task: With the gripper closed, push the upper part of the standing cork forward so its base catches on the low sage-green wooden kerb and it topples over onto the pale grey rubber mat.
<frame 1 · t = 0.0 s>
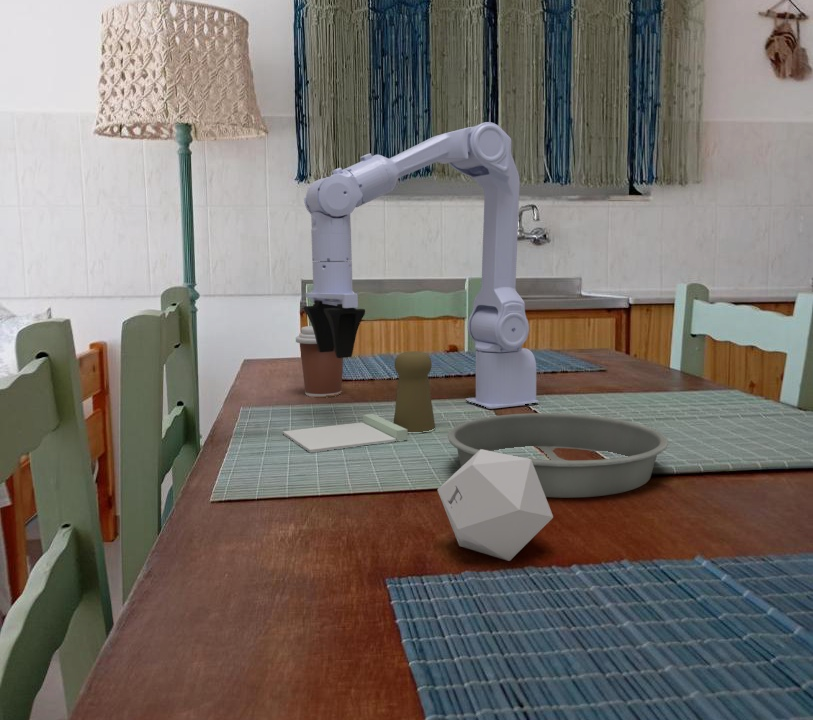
hand: (334, 354, 120), 10 cm above the table, fingers open, 7 cm apart
cake pan: (555, 473, 94), on the table
die: (494, 550, 70), on the table
mat: (338, 437, 111), on the table
coffee cup: (323, 395, 145), on the table
kerb: (384, 432, 114), on the table
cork: (414, 430, 116), on the table
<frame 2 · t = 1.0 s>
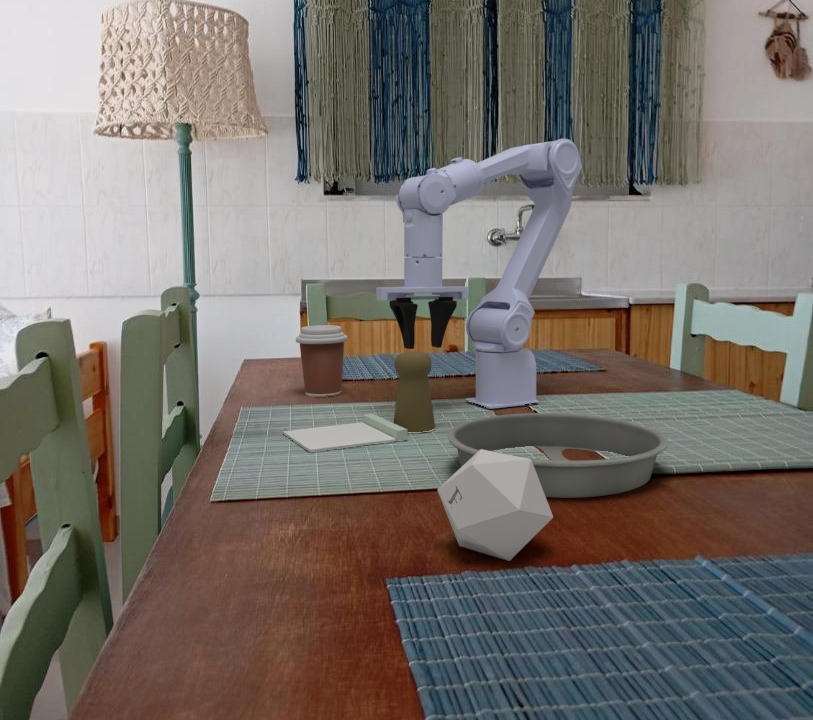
hand: (422, 347, 124), 10 cm above the table, fingers open, 4 cm apart
nothing on the table moved.
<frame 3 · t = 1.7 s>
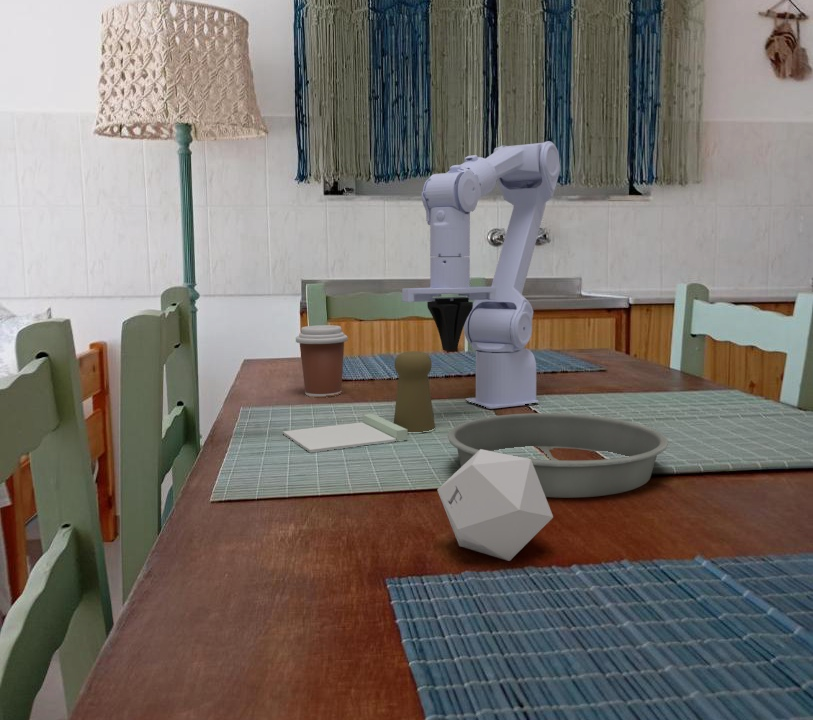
hand: (449, 350, 120), 10 cm above the table, fingers closed
nothing on the table moved.
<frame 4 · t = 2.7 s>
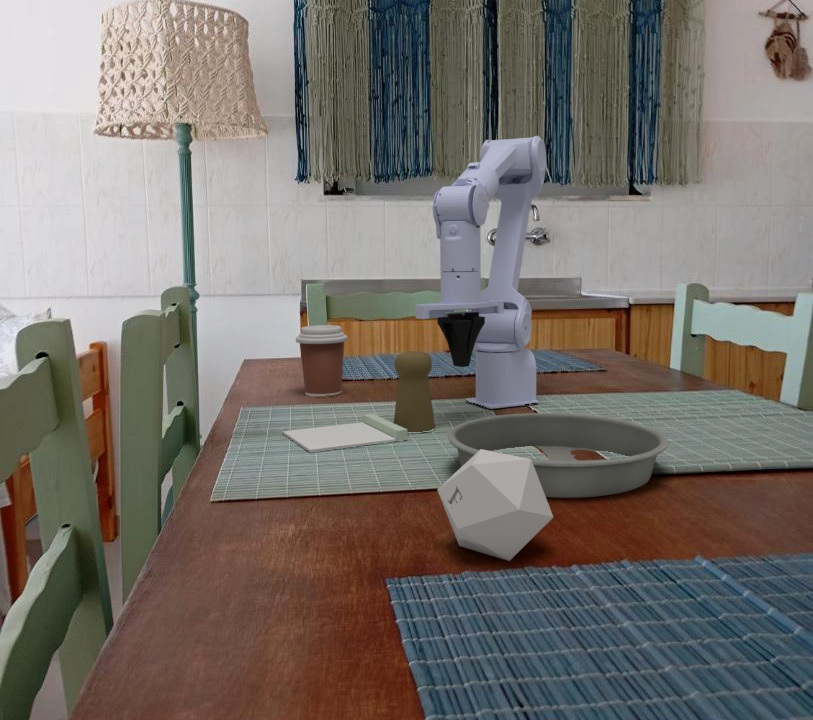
hand: (461, 366, 118), 8 cm above the table, fingers closed
nothing on the table moved.
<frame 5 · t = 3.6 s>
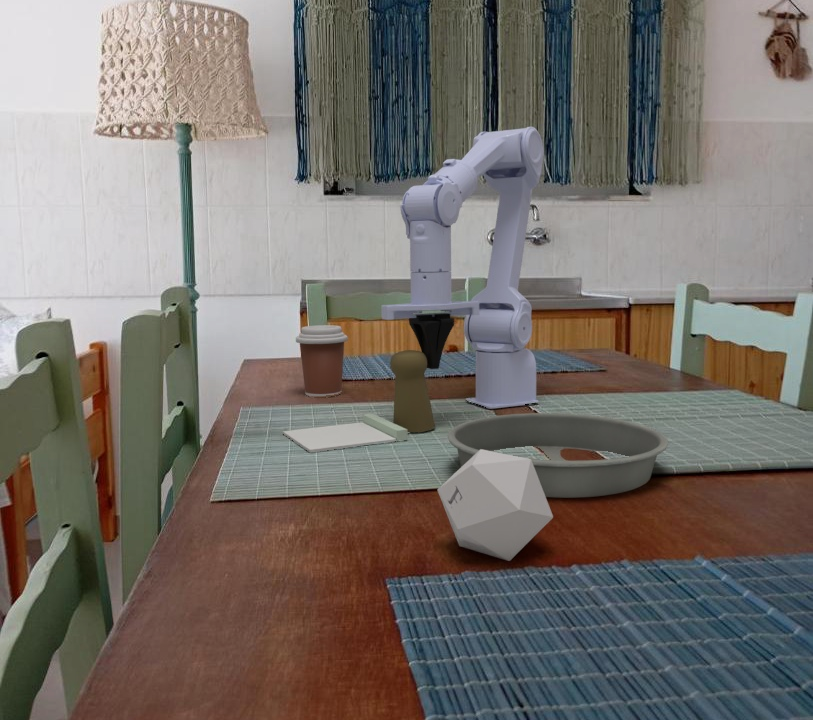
hand: (431, 368, 116), 8 cm above the table, fingers closed
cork: (414, 428, 116), on the table, touching gripper
everything else where it was.
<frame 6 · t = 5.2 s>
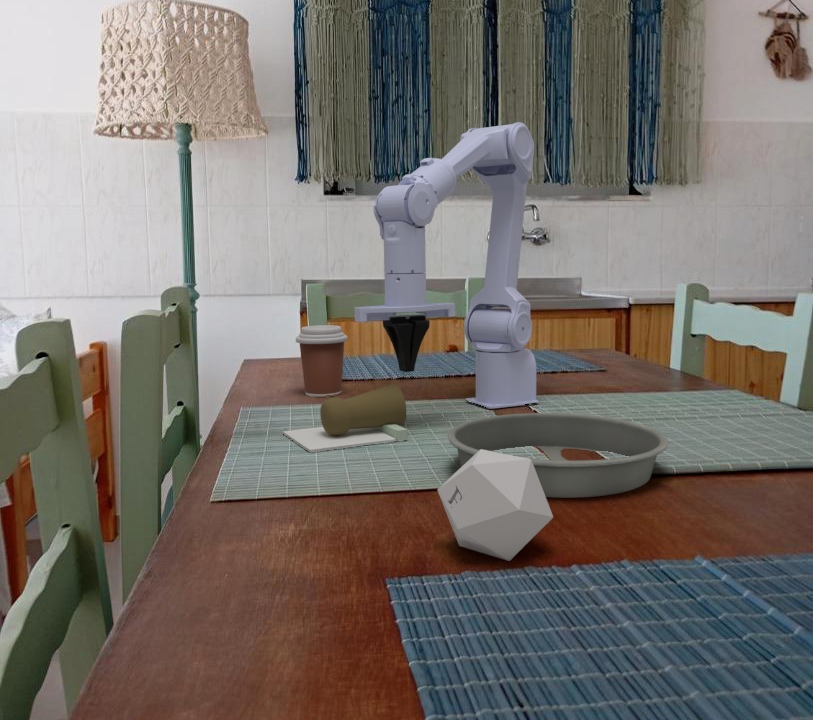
hand: (406, 370, 114), 8 cm above the table, fingers closed
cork: (398, 404, 114), point 4 cm above the table, touching kerb, mat
everything else where it was.
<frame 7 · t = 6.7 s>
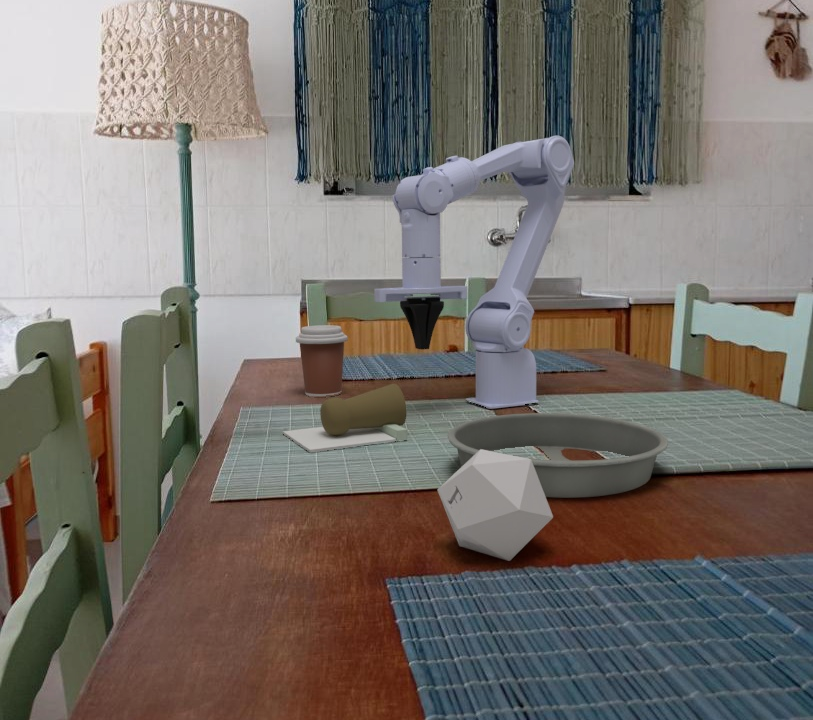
hand: (422, 348, 123), 10 cm above the table, fingers closed
nothing on the table moved.
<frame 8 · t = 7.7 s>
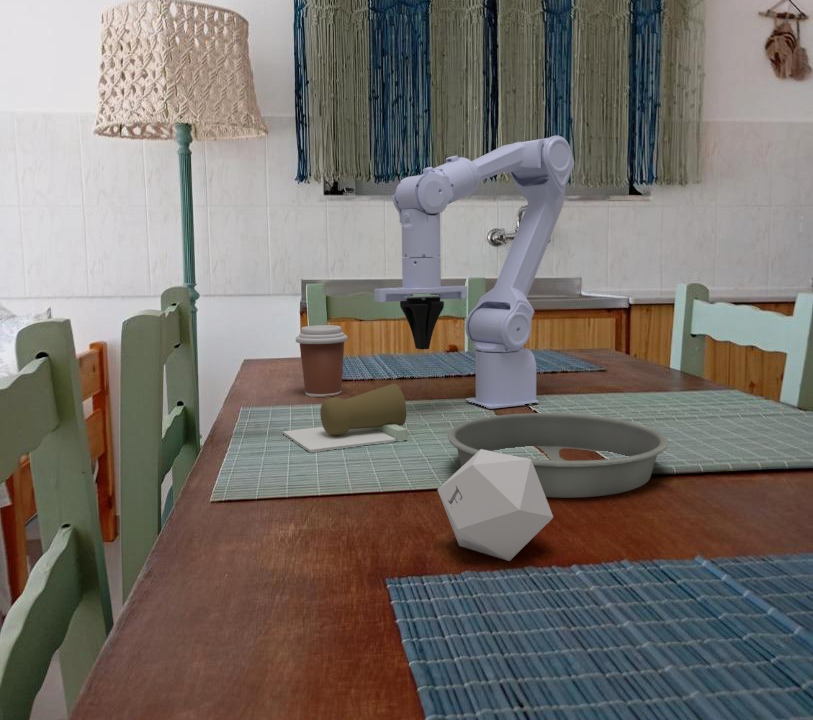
hand: (422, 348, 123), 10 cm above the table, fingers closed
nothing on the table moved.
at the end: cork tilted 95°; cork inside the target area (8.1 cm from its centre), point 3.7 cm above the table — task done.
